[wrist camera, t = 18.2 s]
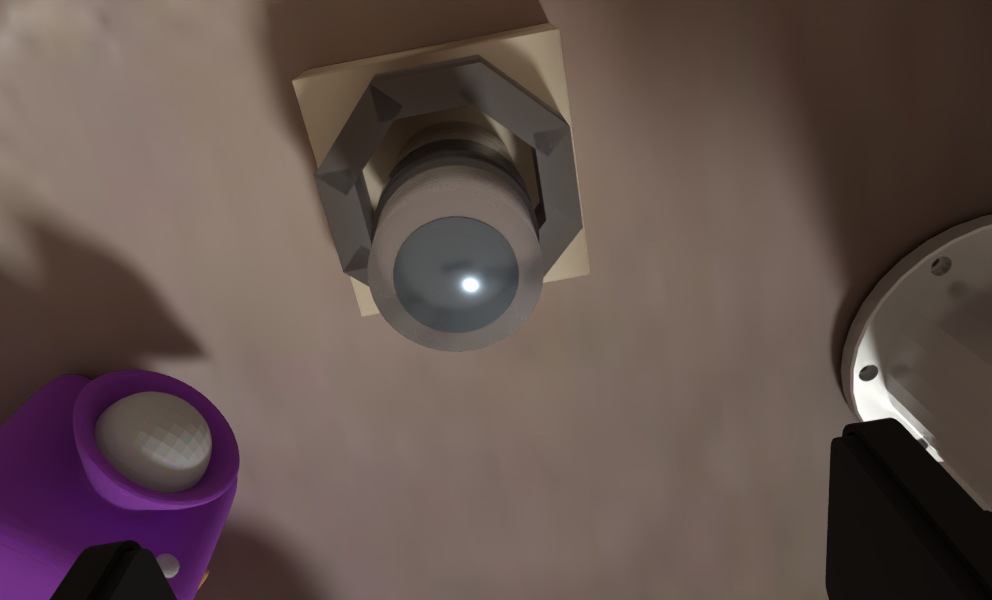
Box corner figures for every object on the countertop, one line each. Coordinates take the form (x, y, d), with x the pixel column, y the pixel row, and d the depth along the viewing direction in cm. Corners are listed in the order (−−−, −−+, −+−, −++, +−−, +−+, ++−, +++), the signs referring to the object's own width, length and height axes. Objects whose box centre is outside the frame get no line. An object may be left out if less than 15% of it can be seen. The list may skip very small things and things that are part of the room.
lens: (509, 104, 24) (535, 169, 17) (530, 233, 26) (562, 341, 19) (372, 131, 24) (338, 206, 17) (404, 257, 26) (387, 373, 19)
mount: (549, 22, 25) (568, 34, 21) (579, 250, 29) (600, 296, 25) (305, 69, 25) (278, 90, 21) (368, 289, 29) (355, 341, 25)
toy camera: (302, 387, 31) (242, 558, 22) (189, 581, 36) (104, 787, 27) (56, 277, 28) (-126, 424, 19) (-31, 505, 33) (-210, 708, 24)
